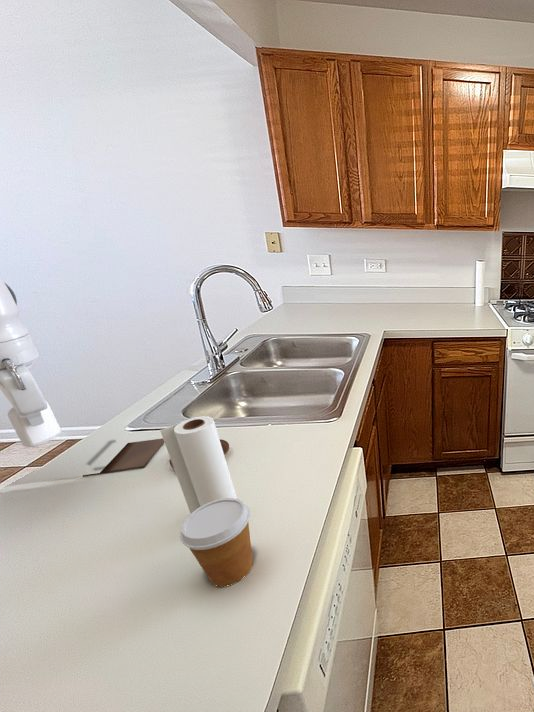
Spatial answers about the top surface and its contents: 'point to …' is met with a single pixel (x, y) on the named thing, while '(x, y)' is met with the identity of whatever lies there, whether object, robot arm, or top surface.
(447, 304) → the top surface
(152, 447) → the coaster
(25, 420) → the eye dropper bottle
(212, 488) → the paper towel roll
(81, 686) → the top surface
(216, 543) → the disposable coffee cup
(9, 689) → the top surface
